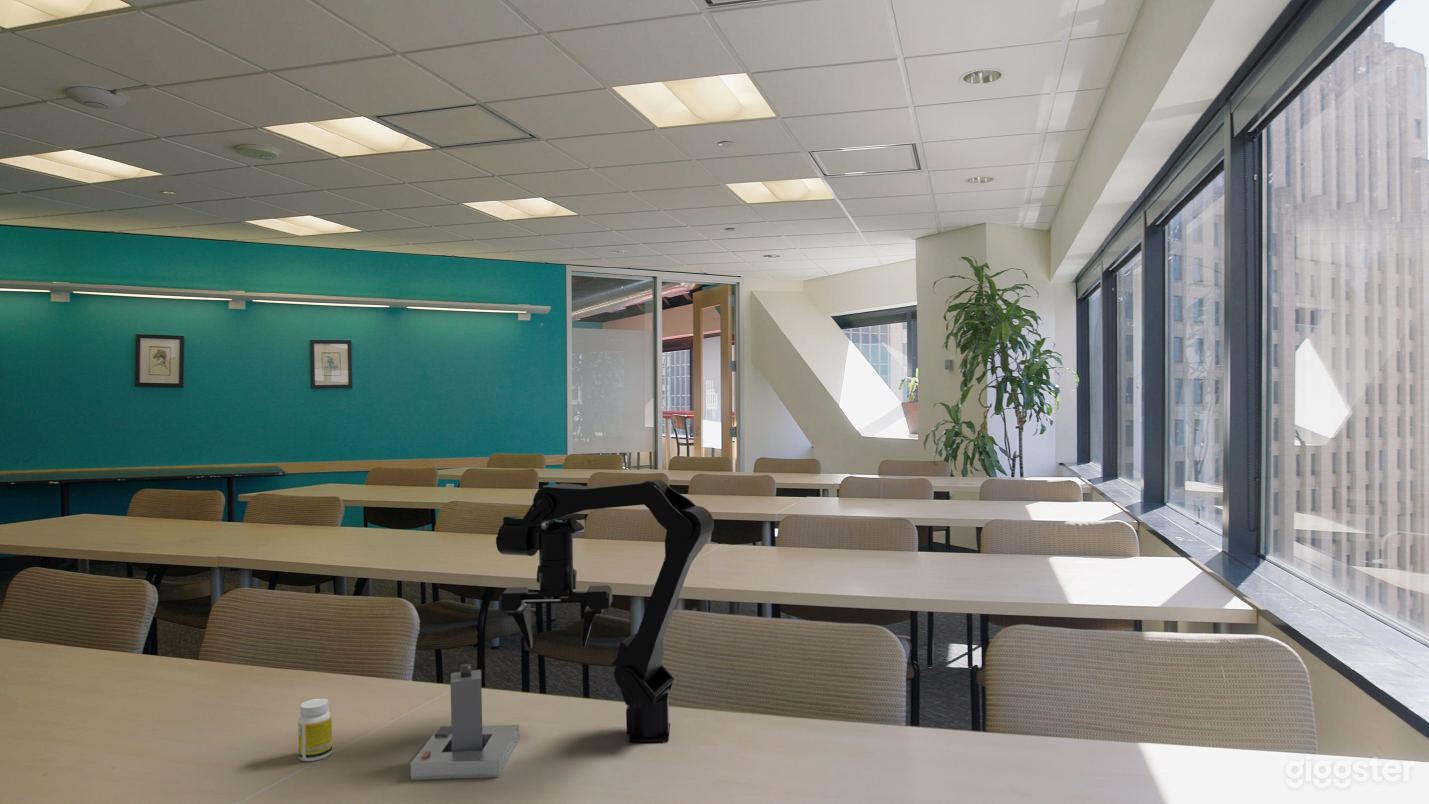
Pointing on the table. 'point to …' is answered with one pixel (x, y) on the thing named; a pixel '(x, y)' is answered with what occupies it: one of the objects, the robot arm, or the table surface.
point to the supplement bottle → (314, 730)
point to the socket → (465, 755)
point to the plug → (466, 710)
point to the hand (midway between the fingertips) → (557, 647)
